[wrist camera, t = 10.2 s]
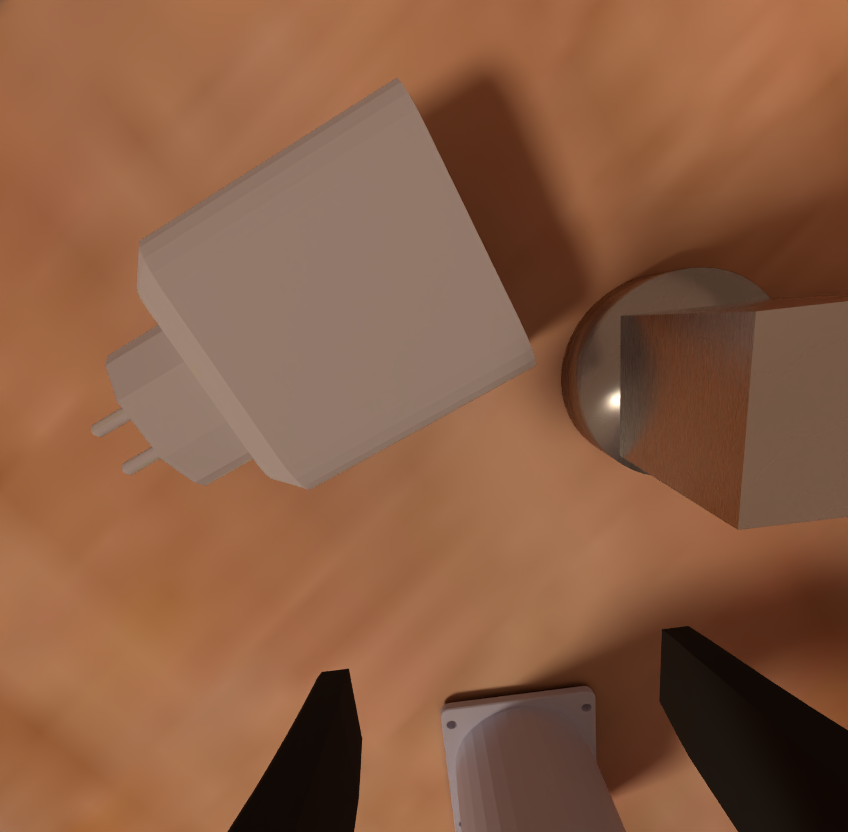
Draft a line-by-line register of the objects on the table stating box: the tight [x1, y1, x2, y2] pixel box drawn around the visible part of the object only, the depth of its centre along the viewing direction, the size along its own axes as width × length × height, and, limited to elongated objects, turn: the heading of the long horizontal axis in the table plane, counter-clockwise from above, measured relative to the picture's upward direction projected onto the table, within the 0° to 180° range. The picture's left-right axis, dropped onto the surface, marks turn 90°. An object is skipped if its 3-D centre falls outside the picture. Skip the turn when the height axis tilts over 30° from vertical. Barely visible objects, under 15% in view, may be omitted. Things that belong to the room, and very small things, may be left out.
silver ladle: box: [561, 267, 770, 475], centre depth 15 cm, size 8×19×5 cm, turn 97°
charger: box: [91, 78, 536, 490], centre depth 14 cm, size 5×9×15 cm
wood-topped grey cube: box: [620, 294, 848, 530], centre depth 12 cm, size 5×5×6 cm
